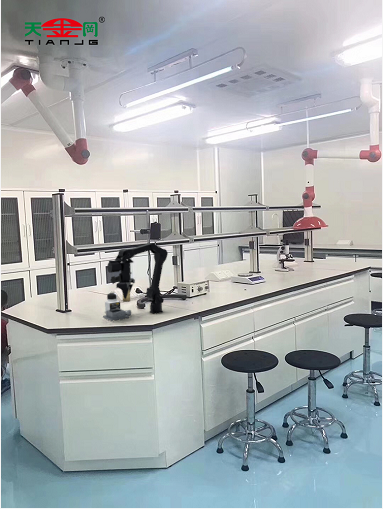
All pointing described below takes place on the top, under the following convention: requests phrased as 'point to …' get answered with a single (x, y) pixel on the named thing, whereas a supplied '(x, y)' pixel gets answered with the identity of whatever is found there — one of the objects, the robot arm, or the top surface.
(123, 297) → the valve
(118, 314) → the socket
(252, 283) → the top surface
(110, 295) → the medicine bottle
